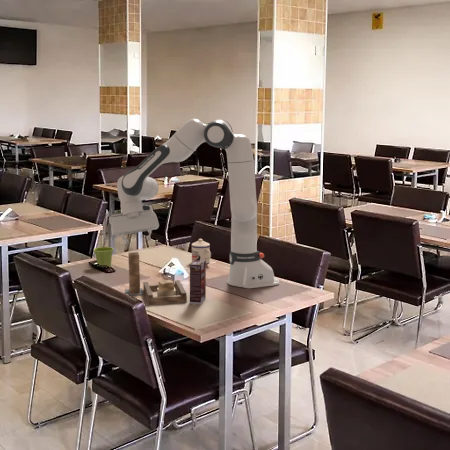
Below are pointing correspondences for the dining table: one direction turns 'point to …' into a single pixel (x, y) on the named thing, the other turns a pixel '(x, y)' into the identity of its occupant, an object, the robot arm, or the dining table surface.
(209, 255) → the teacup with lid
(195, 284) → the supplement box
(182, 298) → the tray
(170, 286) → the offcut top
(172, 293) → the offcut low
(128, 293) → the mat
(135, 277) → the slat
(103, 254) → the plant pot
